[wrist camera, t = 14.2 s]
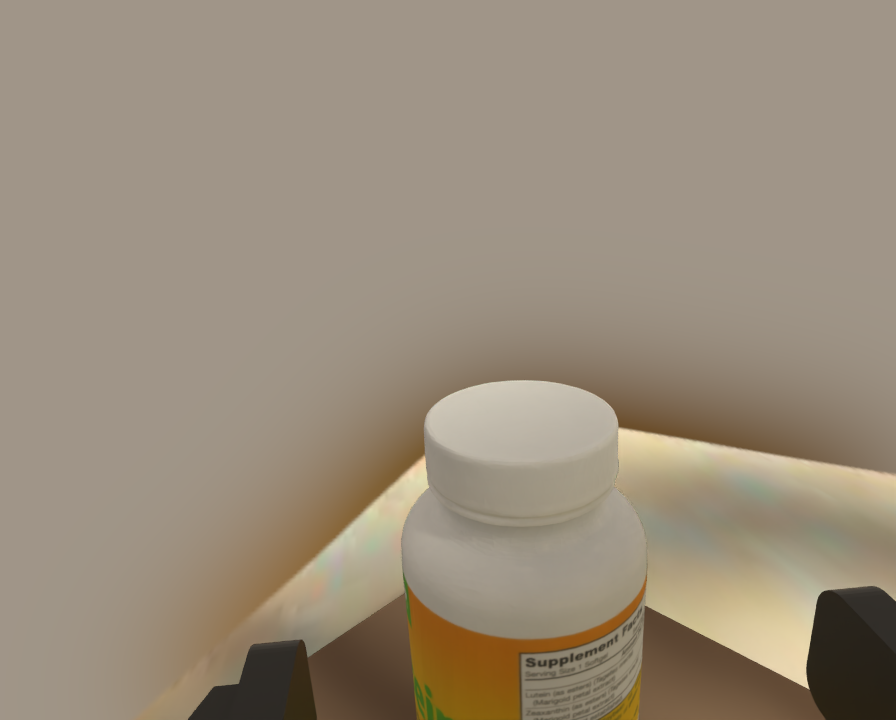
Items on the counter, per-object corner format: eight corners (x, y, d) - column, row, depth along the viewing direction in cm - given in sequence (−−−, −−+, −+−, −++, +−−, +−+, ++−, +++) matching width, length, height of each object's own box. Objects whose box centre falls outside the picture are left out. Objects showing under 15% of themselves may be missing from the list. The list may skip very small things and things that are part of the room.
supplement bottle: (397, 710, 18) (362, 391, 15) (566, 653, 20) (568, 354, 16) (465, 913, 13) (435, 510, 10) (681, 817, 15) (717, 441, 12)
